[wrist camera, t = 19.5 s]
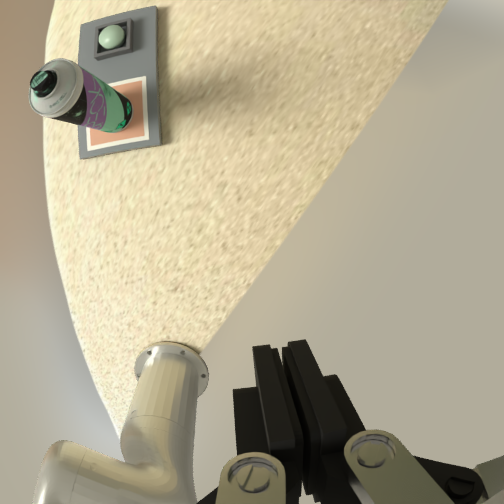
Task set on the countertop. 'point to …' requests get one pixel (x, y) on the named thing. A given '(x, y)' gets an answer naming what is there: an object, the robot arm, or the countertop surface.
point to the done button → (112, 37)
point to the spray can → (78, 97)
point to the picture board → (124, 80)
